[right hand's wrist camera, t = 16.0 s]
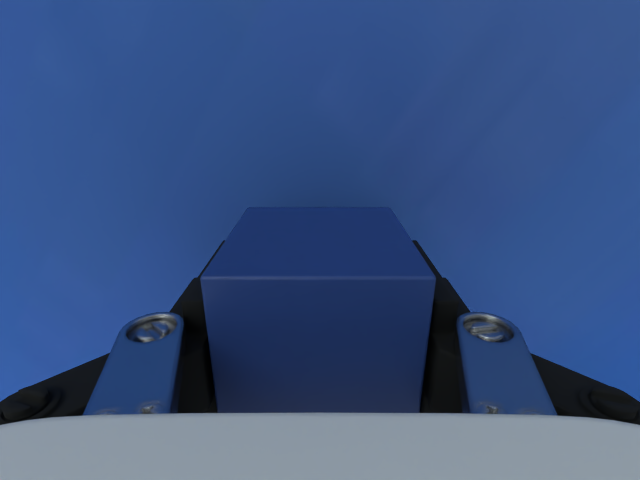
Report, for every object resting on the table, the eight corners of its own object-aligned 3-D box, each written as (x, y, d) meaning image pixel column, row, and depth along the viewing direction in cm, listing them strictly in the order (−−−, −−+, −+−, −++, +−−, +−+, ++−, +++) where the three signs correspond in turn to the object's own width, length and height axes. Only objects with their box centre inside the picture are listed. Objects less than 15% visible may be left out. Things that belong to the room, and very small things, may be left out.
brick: (257, 339, 13) (223, 465, 9) (247, 206, 12) (198, 276, 7) (381, 339, 13) (413, 465, 9) (390, 206, 12) (437, 277, 7)
